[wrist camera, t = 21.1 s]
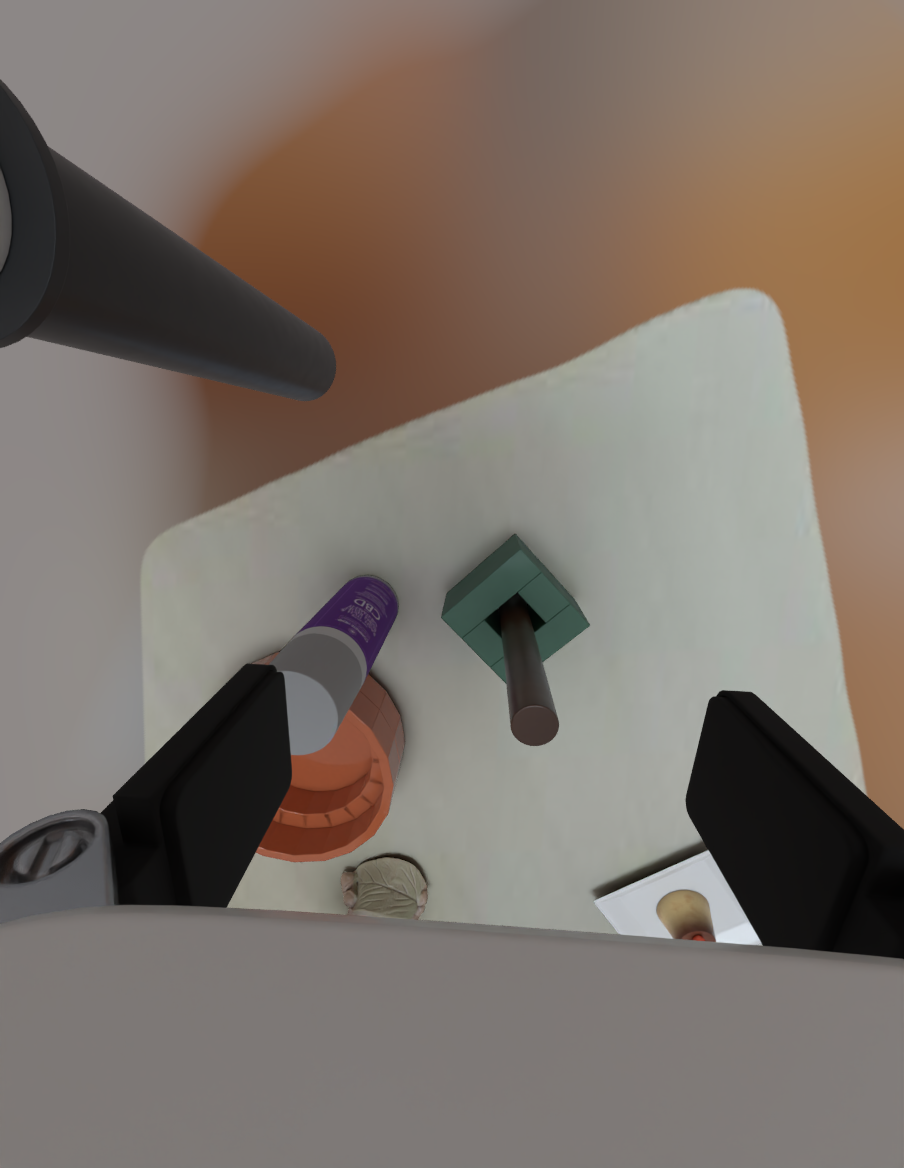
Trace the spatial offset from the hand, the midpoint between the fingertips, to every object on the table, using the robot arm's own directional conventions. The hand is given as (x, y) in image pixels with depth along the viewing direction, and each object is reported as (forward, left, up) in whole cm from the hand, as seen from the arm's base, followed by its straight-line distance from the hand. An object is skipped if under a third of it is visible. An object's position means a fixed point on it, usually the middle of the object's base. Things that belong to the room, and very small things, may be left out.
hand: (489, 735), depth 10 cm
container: (-2, -10, -24) cm, 26 cm away
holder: (+5, -2, -24) cm, 25 cm away
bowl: (+3, -22, -24) cm, 33 cm away
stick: (+5, -2, -24) cm, 25 cm away
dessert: (+38, -10, -24) cm, 46 cm away
